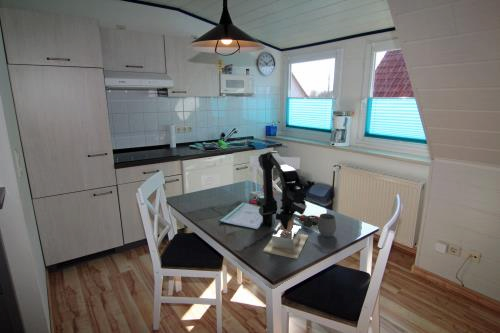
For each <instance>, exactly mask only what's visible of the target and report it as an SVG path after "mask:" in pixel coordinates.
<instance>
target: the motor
mask: <svg viewBox="0 0 500 333" xmlns="http://www.w3.org/2000/svg"><path fill="white" fill-rule="evenodd" d="M301 234H302V226H299V225H298V224H296V223H295V222H294V228H293V229H292V231H291V232H288V231H283V230H281V222H278V224H277V226H276V227H275V228H274V230H273V234H272V237H271V239H272V247H274V248H278V249H283V250H288V251H294V249H295V247H296V245H297V243H298V241H299V240H300V237H301Z"/></svg>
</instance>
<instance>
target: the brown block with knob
mask: <svg viewBox="0 0 500 333" xmlns="http://www.w3.org/2000/svg"><path fill="white" fill-rule="evenodd" d="M280 223H281V222H280ZM294 223H295V217H292V218H291V219H290V220H289V221H288V226H287V229H284V227H283V225H282V223H281V230H283V231H288V232H291V231H292V229H293V228H294Z"/></svg>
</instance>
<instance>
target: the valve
mask: <svg viewBox="0 0 500 333" xmlns="http://www.w3.org/2000/svg"><path fill="white" fill-rule="evenodd" d="M319 217H320V216H318V215H305V214H302V215H301V214H296V213H294V214H293V215H292V218H297V219H298V220H299V221H300V222H301V223H302V225H303V227H304V228H307V229H312V227H313V226H314V227H317V225H318V221H319Z"/></svg>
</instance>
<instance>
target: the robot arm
mask: <svg viewBox="0 0 500 333" xmlns="http://www.w3.org/2000/svg"><path fill="white" fill-rule="evenodd" d="M257 162H258V163H259V167H260V168H261V170H262V177H263V179H262V181H263V198H262V200H261V204H260V206H259V208H258V214H259V215H261V219H262V221H261V223H260V224H259V225H260V226H264V227H267V228H268V227H269V228H272V226H273V225H274V224H275V223H276V222H275V221H274V216H273V215H275V220H277V221H280V223H282V225H283V227H284V229H287V226H288V221H289V220H290V219H291V218H293V216H292V215H293V214H296V213H298V215H300V216H301V215H304V213H305V211H306V209H307V208H308V207H307V203H306V200H305V199H306V195H305V192H304V191H303V190H302V188H301V182H302V181H301V179H300V176H299V174H298V171H297V170H296V169H295V168H293V167H292V166H290V165H287V163H286V162H285V161H284V159H283V158H282V157H281V155H280V154H279V152H278V151H277V150H270V151H268V152H265V153H261V154H260V155H259V156H258V161H257ZM274 168H275V169H276V170H277V171H278V174H279V175H278V177H279V178H278V179H279V180H280V185H281V198H280V202H281V206H280V207H279V209H280V210H279V211H278V201H277V200H276V199H275V197H274V189H273V187H274V186H273V185H274V184H273V169H274Z"/></svg>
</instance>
